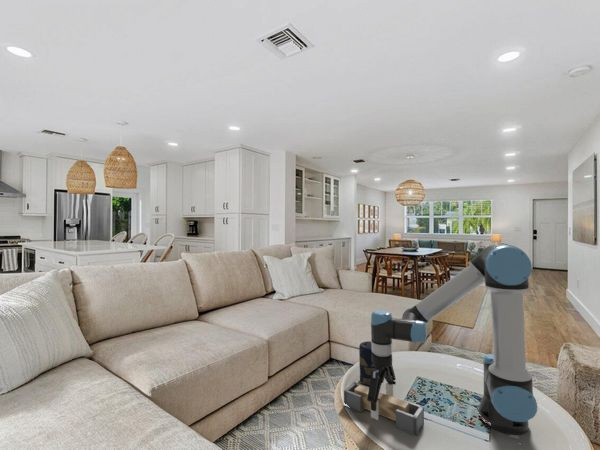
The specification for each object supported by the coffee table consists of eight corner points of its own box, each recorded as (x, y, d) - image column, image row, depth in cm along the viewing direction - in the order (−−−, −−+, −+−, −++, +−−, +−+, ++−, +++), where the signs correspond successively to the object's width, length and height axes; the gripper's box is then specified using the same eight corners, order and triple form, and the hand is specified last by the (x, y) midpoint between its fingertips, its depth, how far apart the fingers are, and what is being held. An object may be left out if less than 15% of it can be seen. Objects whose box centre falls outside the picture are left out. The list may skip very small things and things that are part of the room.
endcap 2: (423, 423, 110) (423, 406, 110) (416, 436, 104) (416, 418, 104) (404, 415, 115) (404, 399, 115) (396, 427, 108) (395, 410, 108)
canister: (381, 388, 134) (381, 347, 134) (359, 386, 136) (359, 345, 135) (380, 377, 143) (380, 339, 143) (359, 375, 145) (359, 337, 145)
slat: (409, 419, 111) (409, 402, 111) (405, 424, 108) (405, 408, 108) (359, 399, 124) (359, 385, 124) (354, 404, 121) (354, 389, 121)
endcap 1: (344, 405, 121) (343, 390, 121) (354, 396, 128) (354, 382, 128) (360, 412, 117) (359, 396, 117) (369, 402, 123) (369, 387, 123)
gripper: (385, 340, 128) (386, 391, 128) (356, 362, 108) (357, 422, 108) (403, 344, 123) (404, 397, 123) (376, 368, 103) (377, 430, 104)
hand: (382, 409), depth 116 cm, fingers open, 13 cm apart
